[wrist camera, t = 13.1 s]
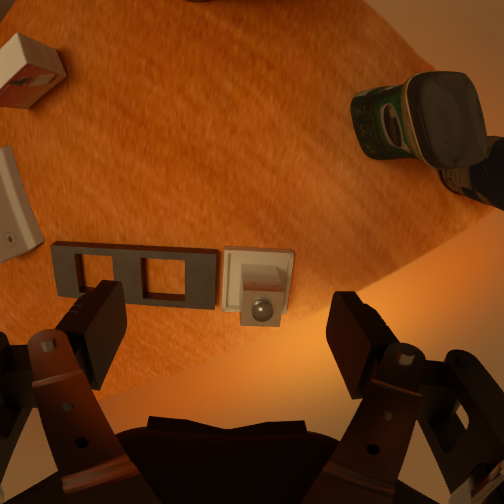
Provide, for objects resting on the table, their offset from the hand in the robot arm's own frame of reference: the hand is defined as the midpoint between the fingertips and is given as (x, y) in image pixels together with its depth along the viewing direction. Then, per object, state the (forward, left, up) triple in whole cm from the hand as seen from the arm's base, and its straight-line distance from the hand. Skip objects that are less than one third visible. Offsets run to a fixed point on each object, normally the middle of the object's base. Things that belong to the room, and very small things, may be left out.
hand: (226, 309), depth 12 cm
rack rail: (+12, -13, -30) cm, 35 cm away
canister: (-8, +34, -30) cm, 46 cm away
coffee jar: (-11, +19, -30) cm, 37 cm away
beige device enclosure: (+2, -34, -30) cm, 45 cm away
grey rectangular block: (+12, +4, -29) cm, 32 cm away
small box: (-16, -28, -30) cm, 44 cm away
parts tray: (+12, +4, -30) cm, 32 cm away
